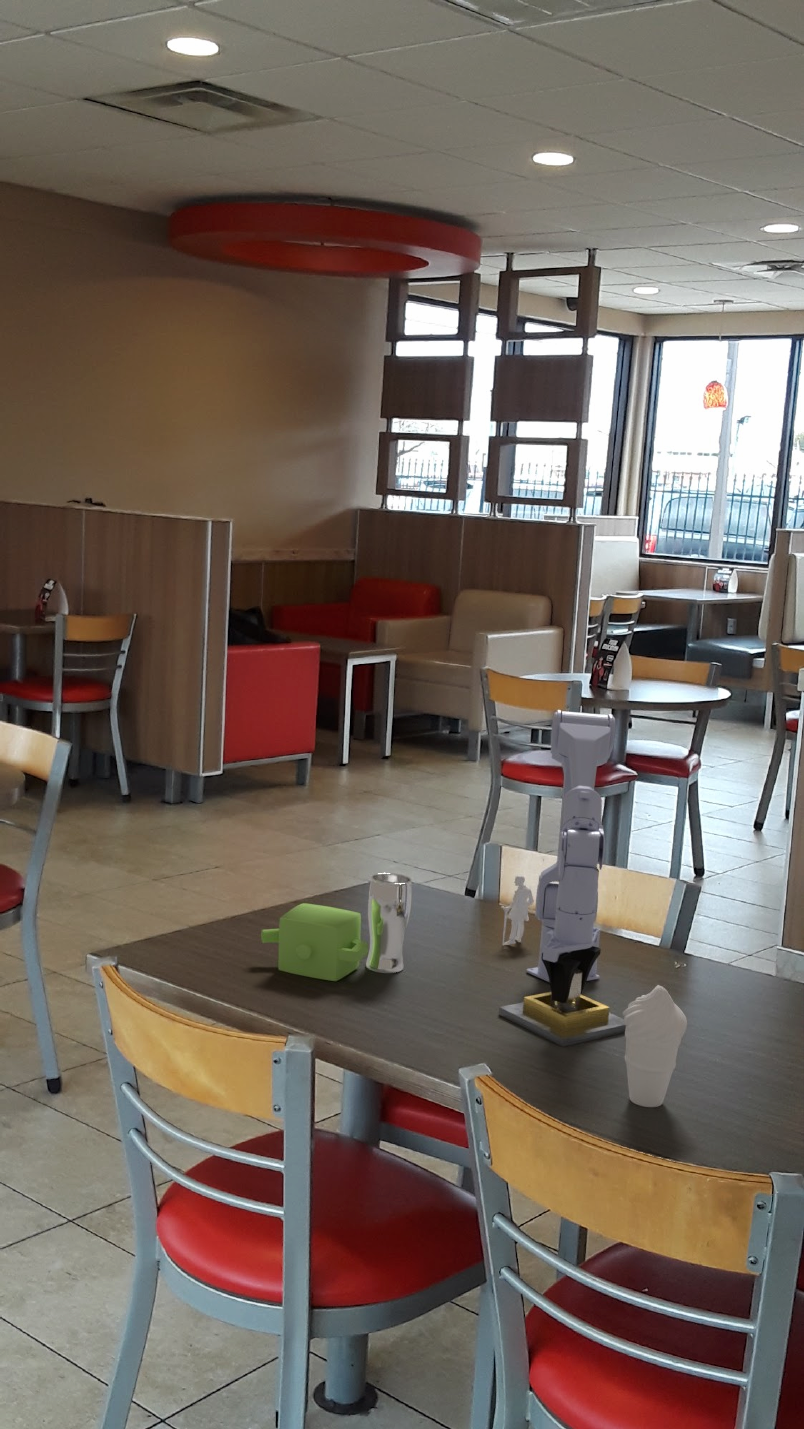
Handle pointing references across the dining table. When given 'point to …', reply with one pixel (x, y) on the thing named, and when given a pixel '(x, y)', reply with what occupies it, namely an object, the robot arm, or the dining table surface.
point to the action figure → (518, 910)
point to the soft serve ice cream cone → (652, 1045)
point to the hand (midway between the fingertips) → (567, 997)
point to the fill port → (564, 1020)
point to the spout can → (571, 996)
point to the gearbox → (318, 941)
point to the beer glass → (388, 921)
